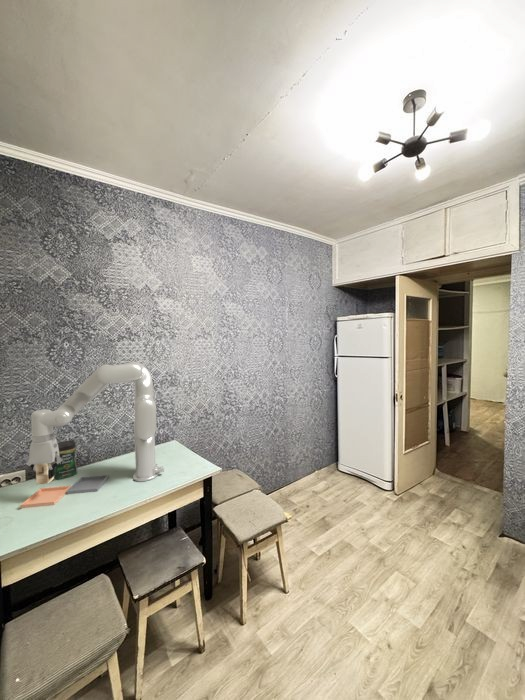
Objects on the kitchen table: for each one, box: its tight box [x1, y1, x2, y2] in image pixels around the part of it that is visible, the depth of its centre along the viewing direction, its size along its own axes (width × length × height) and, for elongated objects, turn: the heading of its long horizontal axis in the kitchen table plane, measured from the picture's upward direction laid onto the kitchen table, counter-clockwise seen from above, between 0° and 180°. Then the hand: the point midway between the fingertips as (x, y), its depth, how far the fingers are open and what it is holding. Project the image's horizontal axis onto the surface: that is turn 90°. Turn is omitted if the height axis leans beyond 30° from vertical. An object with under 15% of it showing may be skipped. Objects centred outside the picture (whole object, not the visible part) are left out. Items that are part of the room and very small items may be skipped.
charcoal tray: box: [66, 474, 110, 495], centre depth 134 cm, size 13×13×2 cm
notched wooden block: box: [35, 463, 55, 485], centre depth 124 cm, size 4×5×9 cm
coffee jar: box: [54, 439, 78, 481], centre depth 144 cm, size 10×8×19 cm
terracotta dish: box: [19, 485, 72, 510], centre depth 124 cm, size 13×13×2 cm
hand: (45, 477), depth 124 cm, fingers closed on notched wooden block, 4 cm apart
